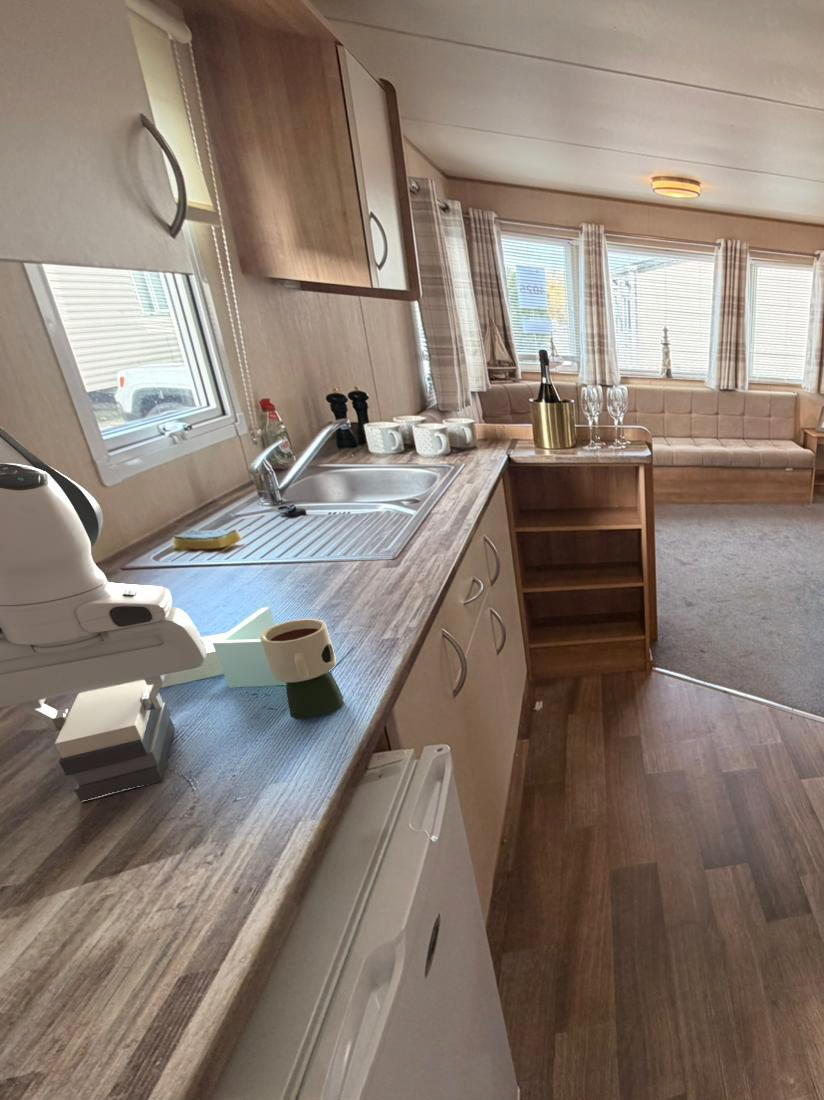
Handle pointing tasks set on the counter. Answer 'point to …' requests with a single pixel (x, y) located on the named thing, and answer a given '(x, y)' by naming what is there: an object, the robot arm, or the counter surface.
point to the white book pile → (206, 670)
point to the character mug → (304, 666)
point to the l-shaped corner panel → (246, 652)
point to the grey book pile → (124, 760)
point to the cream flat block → (104, 719)
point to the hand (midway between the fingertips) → (110, 716)
